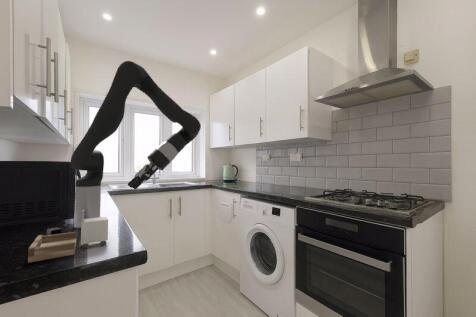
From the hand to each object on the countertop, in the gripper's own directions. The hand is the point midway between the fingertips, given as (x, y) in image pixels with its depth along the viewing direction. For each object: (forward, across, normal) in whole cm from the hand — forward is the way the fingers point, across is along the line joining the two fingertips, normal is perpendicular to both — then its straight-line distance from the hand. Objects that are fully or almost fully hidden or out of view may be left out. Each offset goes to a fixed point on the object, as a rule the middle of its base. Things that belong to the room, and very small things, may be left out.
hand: (131, 187), depth 79 cm
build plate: (+29, -13, -3) cm, 32 cm away
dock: (+28, -1, -2) cm, 28 cm away
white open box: (+21, 0, +5) cm, 21 cm away
